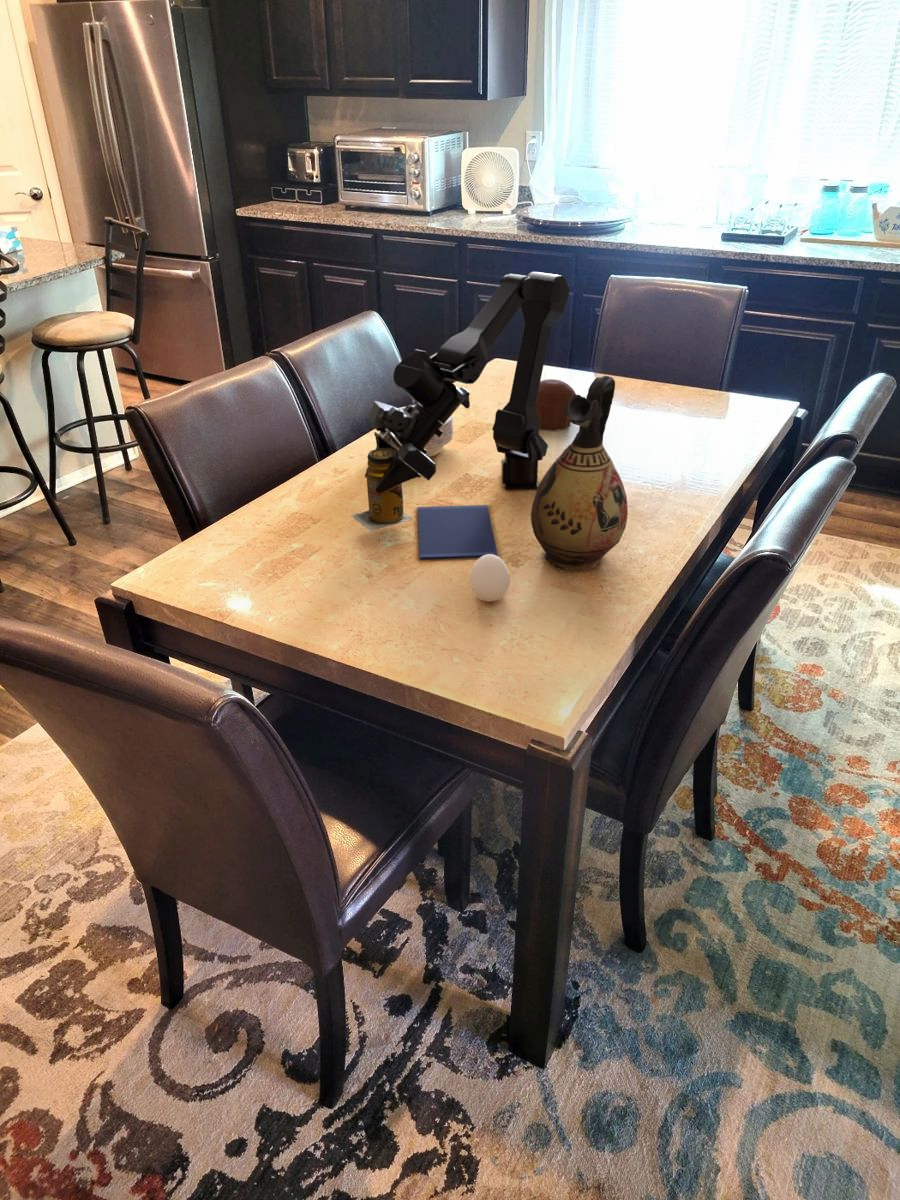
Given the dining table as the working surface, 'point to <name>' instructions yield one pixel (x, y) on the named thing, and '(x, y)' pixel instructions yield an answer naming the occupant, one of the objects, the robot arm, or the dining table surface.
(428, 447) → the paper bowls
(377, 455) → the condiment
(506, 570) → the egg
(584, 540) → the ceramic jug
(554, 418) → the muffin
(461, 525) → the cloth
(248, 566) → the dining table surface
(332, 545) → the dining table surface
